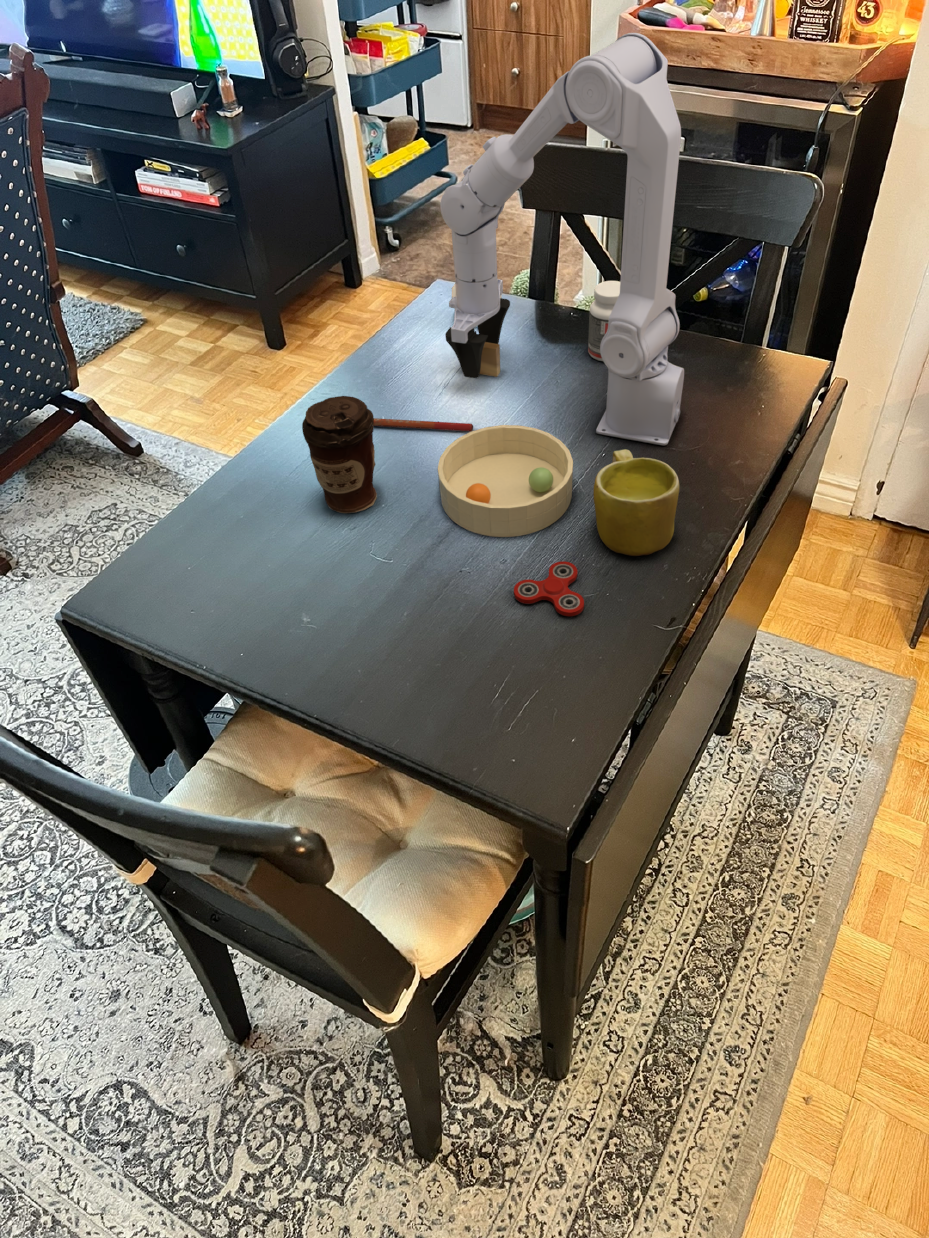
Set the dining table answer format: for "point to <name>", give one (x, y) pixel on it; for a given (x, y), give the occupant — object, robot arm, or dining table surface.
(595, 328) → the pill bottle
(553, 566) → the fidget spinner
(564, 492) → the bowl
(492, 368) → the brown block
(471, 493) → the orange bead
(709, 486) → the dining table surface
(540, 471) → the green bead
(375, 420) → the pencil
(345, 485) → the coffee cup
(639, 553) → the mug
